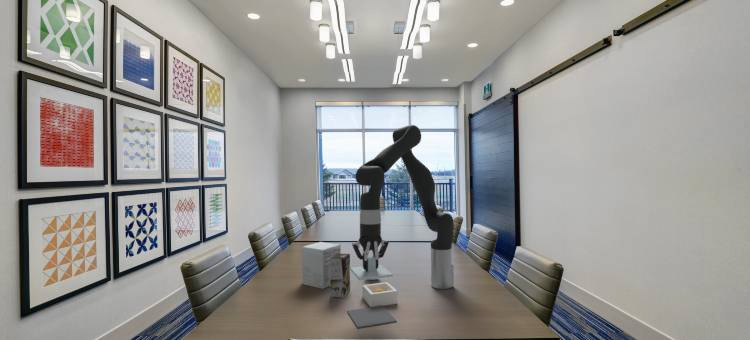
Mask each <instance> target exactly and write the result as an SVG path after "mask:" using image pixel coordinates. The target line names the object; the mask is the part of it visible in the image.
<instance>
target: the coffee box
mask: <svg viewBox="0 0 750 340" xmlns="http://www.w3.org/2000/svg"><path fill="white" fill-rule="evenodd" d="M350 268H351V254H350V253H341V254H336V255H334V256H333V257H332V258H330V286H329V288H330V289H329V291H330V293H329V294H330V297H332V298H343V299H344V298H346V296H347V294H349V292H351V291H350V290H351V270H350Z"/></svg>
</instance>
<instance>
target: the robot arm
mask: <svg viewBox="0 0 750 340" xmlns="http://www.w3.org/2000/svg"><path fill="white" fill-rule="evenodd" d="M392 141H393V143H392V144H390V145H388V146H387V147H385V148H384V149H382V150H381V151H380V152H379V153H378V154H377V155H376V156H375V157H374V158H373V159H371V160H369V161H367V162H366V163H363V164H362V165H361V166H360V167H358V169H357V170H356V171H355V181H356V182H357V184H358V185H360V186H363V187H368V186H369V189H368V191H366V192H362V193H361V195H360V201H359V202H360V205H359V206H360V210H359V211H360V212H359V238H358V241H356V242H352V244H351V246H352V248H353V251H354V252H355V255H356V257H357V258H358V259H359V260H362V266H363V269H364V270H365V271H368V261H367V259H368V256H369V254H370V253H369V252H370V251H371V252H372V256H374V257H376V270H377V268H378V265H379V259H380V258H384V256H385V254H386V251H387V248H388V247H389V242H388V241H387V240H383V239H382V231H381V230H382V224H381V223H382V222H381V221H382V218H381V217H382V216H381V215H382V214H381V194H382V192H383V191H382V190H383V186H384V184H385V178H386V177H385V174H386V173H387V172H389V170H390V169H391V168H392V167H393V166H394V165H395V164H396V163H397V162H398V161H399V160H400V159H402V162H403V165H404V166H405V168H406V170H407V173H408V175H409V178H410V180H411V183H412V185H413V188H414V191H415V193H416V195H417V198H418V200H419V202H420V206H421V208H422V211H423V215H424V219H425V223H426V225H427V227H428V229H429V230H431V231H432V232H433V233H434V232H435V233H437V234H436V239H433V240H431V242H430V282H431V283H430V285H431V287H432V288H434V289H436V290H437V289H439V290H448V289H451V288H452V287H453V286H454V287H455V282H454V281H455V280H454V279H455V278H454V277H455V272H454V270H455V269H454V265H453V264H452V258H453V257H452V256H453V255H452V245H453V243H454V231H455V230H454V227H455V225H454V223H455V222H454V218H453V216H452V215H451V214H450V213H448V212H441V211H439V209H438V207H437V205H436V201H435V193H436V184H435V179H434V176H433V175H432V172H431V170H430V169H429V168H428V166H426V165H425V164H423V163H422V162H421V161H420V160H419V159H418V158H417V157H416V156H415V154H414V153H413V151H412V149H414V148H415V147H416V146H418V145H419V144H420V142H421V141H422V132H421V129H420V128H419V127H418V126H417V125H415V124H409V125H405V126H402V127H398V128H396V129H394V130H393V132H392ZM380 245H381V246H380ZM360 246H361V248H362V254H361V251H360ZM379 246H380V249H379Z"/></svg>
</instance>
